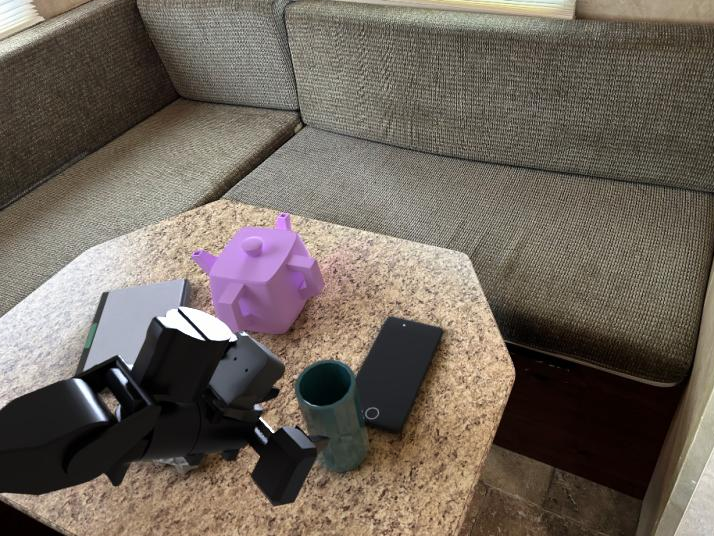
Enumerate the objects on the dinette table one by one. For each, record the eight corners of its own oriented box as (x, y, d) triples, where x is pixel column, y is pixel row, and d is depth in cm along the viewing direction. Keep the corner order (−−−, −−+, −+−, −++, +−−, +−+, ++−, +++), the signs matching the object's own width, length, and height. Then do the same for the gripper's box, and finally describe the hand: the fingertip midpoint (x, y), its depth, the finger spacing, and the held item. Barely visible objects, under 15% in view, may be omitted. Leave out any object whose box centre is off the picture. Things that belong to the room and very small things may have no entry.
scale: (75, 398, 86) (67, 386, 84) (107, 300, 101) (101, 289, 99) (175, 381, 86) (169, 369, 85) (191, 287, 102) (187, 275, 100)
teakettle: (237, 359, 89) (213, 299, 81) (203, 292, 100) (180, 234, 92) (341, 309, 95) (328, 249, 87) (297, 251, 106) (282, 194, 98)
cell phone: (337, 417, 79) (336, 413, 79) (388, 319, 92) (388, 315, 91) (400, 436, 76) (400, 431, 76) (444, 332, 89) (444, 327, 88)
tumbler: (316, 477, 73) (295, 414, 65) (314, 428, 78) (294, 364, 70) (371, 467, 74) (357, 403, 65) (366, 419, 79) (352, 354, 71)
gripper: (277, 407, 48) (391, 402, 61) (169, 296, 60) (284, 311, 72) (219, 524, 50) (343, 495, 62) (124, 394, 61) (245, 392, 73)
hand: (301, 416), depth 67 cm, fingers open, 9 cm apart
